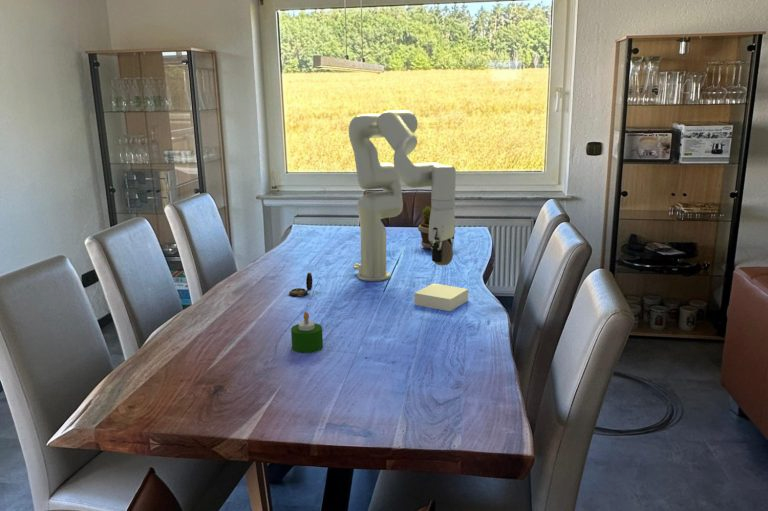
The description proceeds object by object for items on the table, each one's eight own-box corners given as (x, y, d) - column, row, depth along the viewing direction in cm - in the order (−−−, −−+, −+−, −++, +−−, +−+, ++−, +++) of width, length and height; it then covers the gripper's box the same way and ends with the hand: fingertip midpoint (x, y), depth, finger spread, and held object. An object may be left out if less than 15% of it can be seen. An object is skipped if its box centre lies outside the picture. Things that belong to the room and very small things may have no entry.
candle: (309, 355, 163) (308, 319, 160) (285, 349, 167) (283, 313, 165) (328, 345, 170) (327, 310, 167) (305, 339, 174) (303, 305, 172)
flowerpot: (456, 246, 283) (457, 203, 278) (441, 253, 271) (441, 208, 266) (428, 243, 291) (429, 200, 286) (412, 249, 278) (412, 205, 273)
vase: (451, 267, 198) (452, 240, 196) (430, 266, 199) (430, 239, 197) (453, 261, 204) (454, 235, 202) (432, 261, 206) (433, 234, 203)
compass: (287, 292, 217) (286, 272, 215) (310, 290, 219) (309, 270, 217) (291, 299, 209) (290, 278, 208) (315, 297, 212) (314, 276, 210)
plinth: (414, 304, 203) (414, 292, 202) (433, 294, 213) (433, 283, 213) (450, 311, 196) (450, 299, 195) (467, 300, 207) (468, 289, 206)
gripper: (445, 200, 206) (444, 252, 210) (419, 207, 192) (418, 263, 196) (465, 201, 202) (464, 255, 206) (440, 209, 188) (440, 266, 192)
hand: (442, 258), depth 201 cm, fingers closed on vase, 6 cm apart
